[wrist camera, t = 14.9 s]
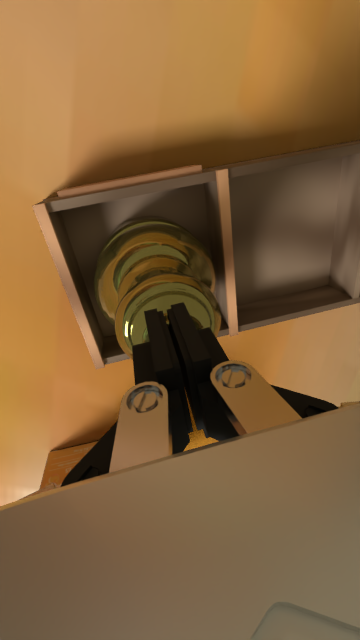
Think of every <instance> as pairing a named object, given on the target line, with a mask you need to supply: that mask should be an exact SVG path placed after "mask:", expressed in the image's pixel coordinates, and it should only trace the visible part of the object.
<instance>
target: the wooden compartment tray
mask: <svg viewBox="0 0 360 640" xmlns="http://www.w3.org/2000/svg"><path fill="white" fill-rule="evenodd" d="M57 194H58V196H57V197H52V198H46V199H44V200H43V201H42V202H40V203H37V204H35V205H33V206H32V207H33V209H34V212H35V214H36V217H37V220H38V222H39V225H40V227H41V230H42V232H43V235H44V237H45V240H46V243H47V245H48V248H49V250H50V253H51V255H52V258H53V260H54V263H55V266H56V268H57V271H58V273H59V276H60V278H61V281H62V283H63V286H64V289H65V291H66V294H67V296H68V299H69V301H70V304H71V306H72V309H73V311H74V314H75V317H76V319H77V322H78V324H79V327H80V329H81V332H82V334H83V337H84V340H85V342H86V345H87V347H88V350H89V352H90V355H91V357H92V360H93V363H94V365H95V368H96V369H99V368H103V367H105V364H110V363H114V362H118V361H122V360H126V359H130V357H129V356H127V355H126V353H125V352H124V351H123V350H122V348H121V347H120V345H119V343H118V340H117V337H116V333H115V327H114V326H113V325H112V324H111V323H110V322H109V321H108V320H107V319H106V318H105V317H104V315H103V314H102V312H101V310H100V308H99V306H98V304H97V301H96V298H95V293H94V275H95V270H96V266H97V261H98V257H99V254H100V252H101V249H102V247H103V245H104V242H105V241H106V239H107V238H108V236H109V235H110V234H111V233H112V231H113V230H115V229H116V228H117V227H118V226H119V225H121V224H122V223H124V222H126V221H128V220H130V219H133V218H136V217H140V216H160V217H164V218H168V219H170V220H172V221H174V222H176V223H178V224H179V225H181V226H182V227H184V228H185V229H187V230H188V231H189V232H190V233H191V234H193V236H194V237H196V238H197V239H198V240H199V241H200V242H201V243H202V244H203V245H204V246H205V248H206V249H207V251H208V252H209V254H210V256H211V258H212V260H213V263H214V267H215V272H216V290H215V294H214V295H215V297H216V299H217V301H218V304H219V307H220V311H221V325H220V330H219V333H218V335H217V337H221V336H225V335H230V336H234V335H238V332H241V331H245V330H249V329H253V328H257V327H262V326H266V325H270V324H274V323H278V322H282V321H286V320H290V319H294V318H299V317H303V316H307V315H311V314H315V313H319V312H323V311H327V310H331V309H336V308H340V307H344V306H348V305H352V304H356V303H360V140H356V141H351V142H346V143H340V144H335V145H330V146H324V147H319V148H314V149H308V150H303V151H298V152H292V153H287V154H281V155H276V156H271V157H265V158H260V159H255V160H249V161H244V162H239V163H233V164H228V165H223V166H217V167H212V168H207V169H202V165H189V166H184V167H179V168H173V169H168V170H162V171H157V172H152V173H146V174H141V175H135V176H130V177H125V178H119V179H114V180H108V181H103V182H98V183H92V184H87V185H81V186H76V187H71V188H65V189H62V190H60V191H57Z"/></svg>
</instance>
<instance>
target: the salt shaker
mask: <svg viewBox="0 0 360 640" xmlns="http://www.w3.org/2000/svg"><path fill="white" fill-rule="evenodd" d="M215 290H216V272H215V267H214V263H213V260H212V258H211V256H210V254H209V252H208V251H207V249H206V248H205V246H204V245H203V244H202V243H201V242H200V241H199V240H198V239H197V238H196V237H194V236H193V234H191V233H190V232H189V231H188V230H187V229H185V228H184V227H182V226H181V225H179V224H178V223H176V222H174V221H172V220H170V219H168V218H164V217H160V216H140V217H136V218H133V219H130V220H128V221H126V222H124V223H122V224H121V225H119V226H118V227H117V228H116V229H115V230H113V231H112V233H111V234H110V235H109V236H108V238H107V239H106V241H105V242H104V245H103V247H102V249H101V252H100V254H99V257H98V261H97V266H96V270H95V275H94V293H95V298H96V301H97V304H98V306H99V308H100V310H101V312H102V314H103V315H104V317H105V318H106V319H107V320H108V321H109V322H110V323H111V324H112V325H113V326H114V327H115V333H116V337H117V340H118V343H119V345H120V347H121V348H122V350H123V351H124V352H125V353H126V355H127V356H129V357H130V358H131V359H132V360H133V353H132V346H133V345H137V344H141V343H145V342H149V336H148V331H147V325H146V320H145V315H144V311H147V310H152V309H156V308H157V311H163V314H164V317H165V320H166V323H167V326H168V329H169V332H170V336H171V339H172V335H171V330H170V325H169V320H168V315H167V309H171V305H173V304H178V303H182V302H184V304H185V306H186V308H187V310H188V312H189V314H190V316H191V318H192V320H193V322H194V324H195V326H196V328H197V330H199V329H203V328H207V327H210V328H211V330H212V332H213V333H214V335H215V337H216V338H217V335H218V333H219V330H220V325H221V311H220V307H219V304H218V301H217V299H216V297H215V295H214V294H215ZM172 342H173V340H172Z"/></svg>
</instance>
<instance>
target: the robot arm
mask: <svg viewBox="0 0 360 640" xmlns="http://www.w3.org/2000/svg"><path fill="white" fill-rule="evenodd" d="M144 315H145V320H146V325H147V331H148V336H149V342H145V343H141V344H137V345H133V346H132V353H133V365H134V376H135V386H133V387H132V388H131V389H129V390H128V391H127V392H126V393H125V395H124V396H123V399H122V401H121V407H120V413H119V418H118V421H117V422H116V423H115V424H114V425H113V426H112V427H111V429H110V430H109V431H108V432H107V433H106V434H105V435H104V436H103V437H102V438H101V439H100V440H99V441H98V442H97V443H96V444H95V445H94V446H93V447H92V449H91V450H90V451H89V452H88V453H87V454H86V455H85V456H84V457H83V458H82V459H81V460H80V461H79V462H78V463H77V464H76V465H75V466H74V467H73V469H72V470H71V471H70V472H69V473H68V474H67V476H66V477H65V478H64V480H63V482H62V483H61V484H59V485H57V486H55V485H54V483H52V484H50V485H48V486H46V487H44V488H42V489H40V490H38V491H36V492H34V493H32V494H30V495H28V496H26V497H24V498H22V499H20V500H18V501H15V502H12V503H9V504H6V505H3V506H0V640H360V401H358V402H344V403H341V406H340V407H337V406H335V405H334V404H332V403H329V402H327V401H324V400H321V399H317V398H314V397H311V396H307V395H304V394H301V393H297V392H294V391H290V390H287V389H284V388H280V387H277V386H273V385H270V384H269V383H268V382H267V381H266V380H265V379H264V378H263V377H262V376H261V375H260V374H259V373H258V372H257V371H256V370H255V369H254V368H253V367H252V366H250V365H249V364H247V363H245V362H242V361H229V359H228V358H227V356H226V354H225V352H224V351H223V349H222V347H221V346H220V344H219V342H218V340H217V339H216V337H215V335H214V333H213V332H212V330H211V328H210V327H207V328H203V329H199V330H197V328H196V326H195V324H194V322H193V320H192V318H191V316H190V314H189V312H188V310H187V308H186V306H185V304H184V302H182V303H178V304H173V305H171V309H167V315H168V320H169V325H170V330H171V335H172V339H171V336H170V332H169V329H168V326H167V323H166V320H165V317H164V314H163V311H157V308H156V309H152V310H147V311H144ZM172 340H173V342H172ZM184 387H185V388H184ZM185 391H186V393H185ZM186 394H187V397H188V400H189V404H190V407H191V410H192V414H193V417H194V420H195V423H196V427H197V430H201V429H203V430H204V433H205V436H206V438H208V437H212V438H214V439H216V440H218V441H219V442H216V443H212V444H209V445H205V446H202V447H198V448H195V449H191V450H188V451H184V449H185V448H186V446H187V445H188V443H189V442H190V439H189V435H188V433H190V432H193V428H192V423H191V418H190V413H189V408H188V403H187V398H186ZM183 451H184V452H183Z"/></svg>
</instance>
